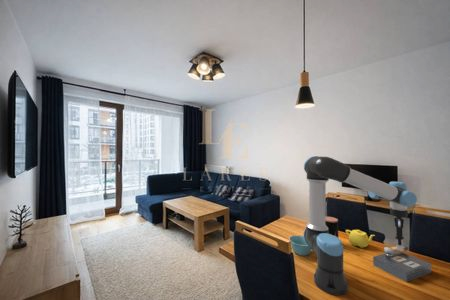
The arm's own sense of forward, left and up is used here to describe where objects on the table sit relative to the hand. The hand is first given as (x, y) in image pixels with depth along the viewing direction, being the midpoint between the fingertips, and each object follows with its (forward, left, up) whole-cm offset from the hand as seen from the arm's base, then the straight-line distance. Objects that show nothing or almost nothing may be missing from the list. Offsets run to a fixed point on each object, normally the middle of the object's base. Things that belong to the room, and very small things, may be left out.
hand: (399, 250), depth 111 cm
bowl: (-40, +34, -11) cm, 54 cm away
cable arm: (+6, +5, -4) cm, 9 cm away
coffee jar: (-11, +37, -11) cm, 41 cm away
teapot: (+6, +27, -11) cm, 30 cm away
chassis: (0, -1, -10) cm, 10 cm away
